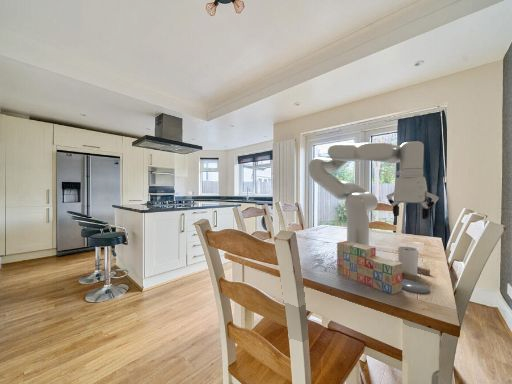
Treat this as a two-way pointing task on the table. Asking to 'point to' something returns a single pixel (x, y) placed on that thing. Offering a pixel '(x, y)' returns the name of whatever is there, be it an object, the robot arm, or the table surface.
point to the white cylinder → (408, 259)
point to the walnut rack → (414, 277)
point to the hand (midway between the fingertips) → (409, 217)
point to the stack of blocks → (369, 267)
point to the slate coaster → (414, 286)
